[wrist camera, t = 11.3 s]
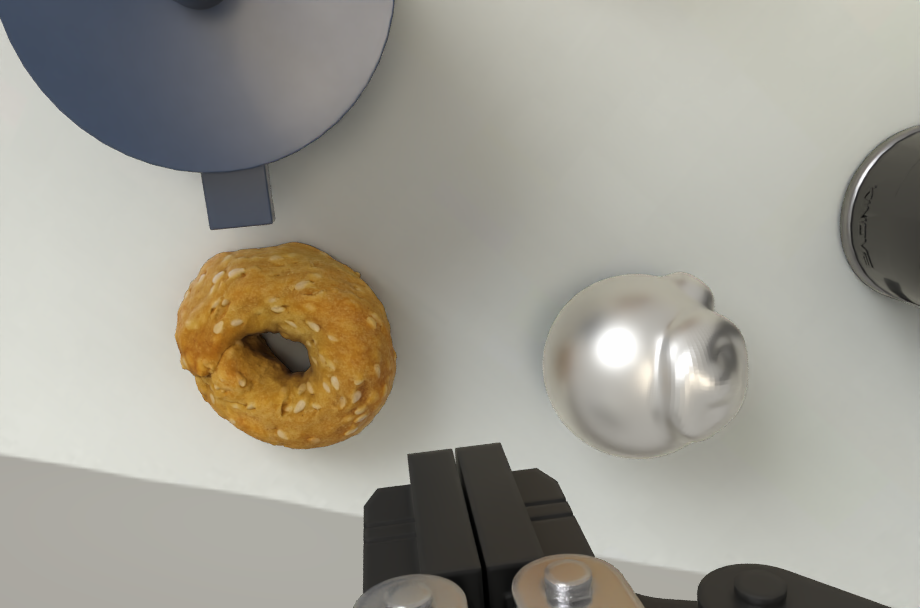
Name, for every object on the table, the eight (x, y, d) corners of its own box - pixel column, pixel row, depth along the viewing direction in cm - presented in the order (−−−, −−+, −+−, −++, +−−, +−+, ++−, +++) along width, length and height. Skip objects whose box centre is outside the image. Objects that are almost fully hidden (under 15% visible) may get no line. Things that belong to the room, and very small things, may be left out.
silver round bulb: (690, 418, 45) (777, 504, 36) (521, 417, 44) (565, 505, 35) (710, 257, 43) (809, 302, 34) (533, 251, 42) (583, 296, 32)
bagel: (271, 189, 40) (258, 201, 35) (436, 334, 43) (444, 363, 38) (139, 336, 41) (110, 366, 36) (308, 469, 44) (301, 512, 39)
